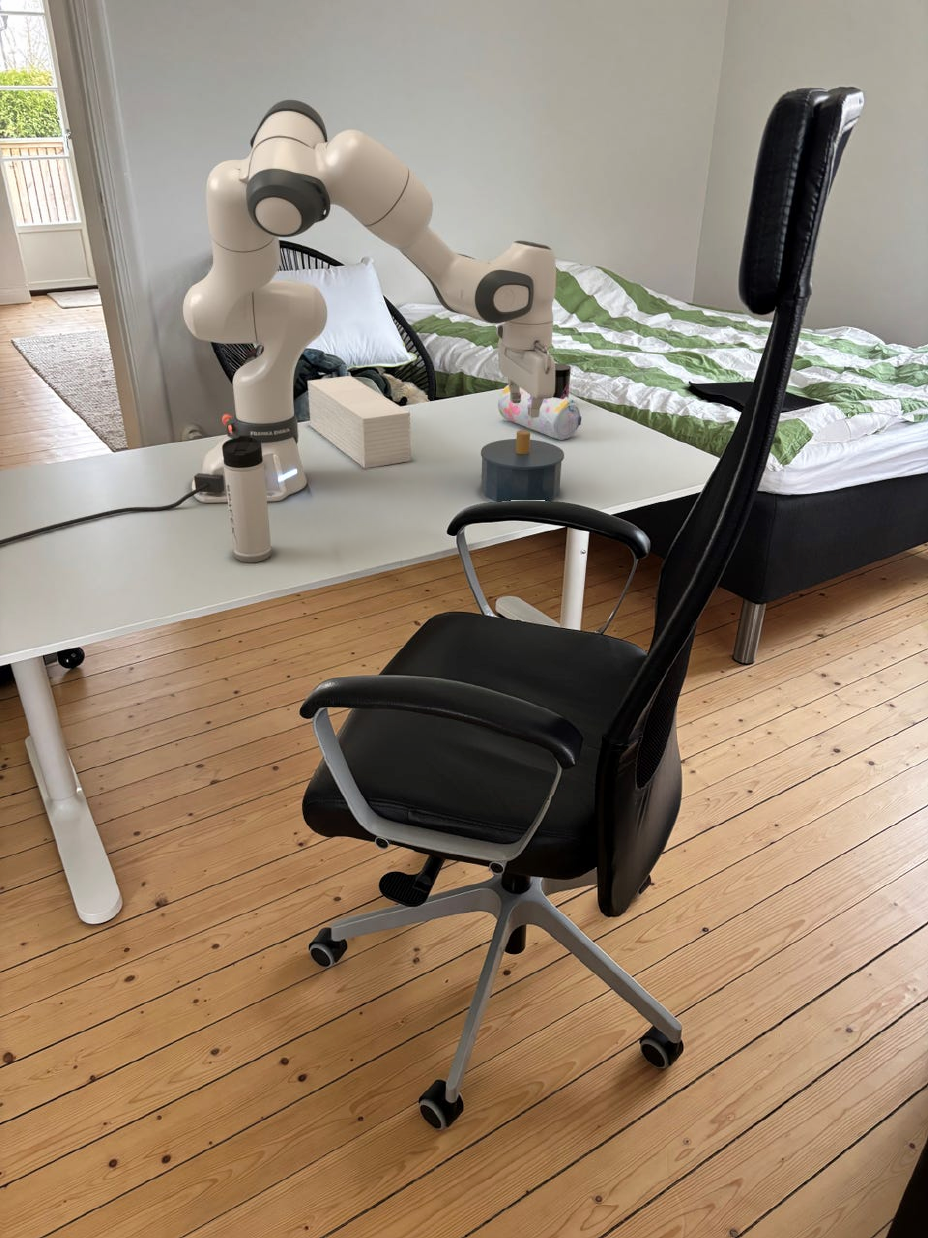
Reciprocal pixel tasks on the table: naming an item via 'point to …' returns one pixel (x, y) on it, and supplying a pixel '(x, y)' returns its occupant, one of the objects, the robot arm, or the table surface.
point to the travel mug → (247, 498)
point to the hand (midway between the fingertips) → (524, 409)
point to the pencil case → (542, 414)
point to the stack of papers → (359, 421)
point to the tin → (520, 483)
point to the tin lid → (522, 453)
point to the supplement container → (562, 380)
